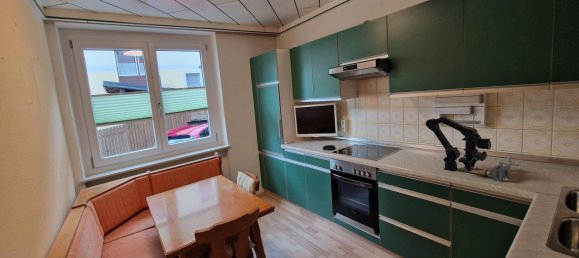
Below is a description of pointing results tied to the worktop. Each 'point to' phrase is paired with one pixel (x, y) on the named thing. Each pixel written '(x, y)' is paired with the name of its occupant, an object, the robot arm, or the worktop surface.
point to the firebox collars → (500, 172)
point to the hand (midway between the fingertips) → (470, 170)
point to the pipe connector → (509, 163)
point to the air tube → (480, 171)
